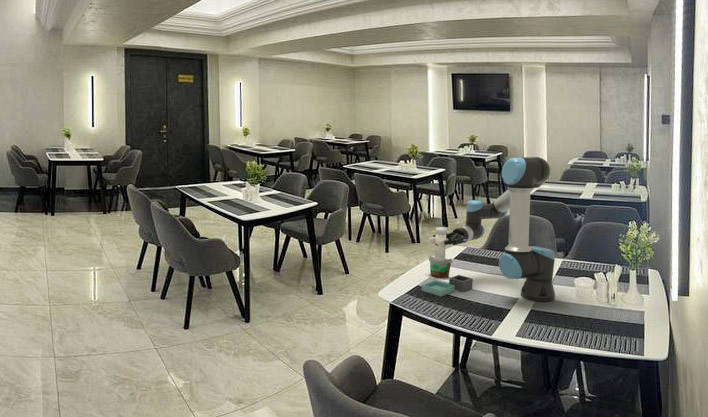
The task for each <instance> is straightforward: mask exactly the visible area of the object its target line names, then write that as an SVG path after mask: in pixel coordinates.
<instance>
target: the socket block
mask: <svg viewBox="0 0 708 417" xmlns="http://www.w3.org/2000/svg"><path fill="white" fill-rule="evenodd" d="M448 278H449V280H448V284H451V285H454V286H455V290H454V291H458V292H461V293H466V292H467V291H469V290H472V289H473V283H474V282H473V281H474V278H472V277H469V276H465V275H461V274H458V275H455V276H451V277H448Z"/></svg>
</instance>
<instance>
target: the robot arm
mask: <svg viewBox="0 0 708 417" xmlns="http://www.w3.org/2000/svg"><path fill="white" fill-rule="evenodd" d="M550 175H551V167H550V164H549V163H548V161H547V160H546V159H544V158H542V157H539V156H534V157H533V156H529V157H527V156H525V157H523V156H522V157H521V156H520V157H511V158H509V159H508V160H506V162H504V164H503V166H502V169H501V178H502V181H503V182H504V183H505V184H506V188H507V190H506V191H504V192H503V193H502V194H501V195H500V196H499V197H497V198H496V199H495V200H494V201H492V202H491V203H483V201H482V200H475V199H472V200H471V199H470V200H468V201H467V204H466V217H465V219H466V220H465V225H464V226H460V227H457V228H455V229H453V230H452V231H451V232H447V233H446V239H444V240H440V241H439V245H438V247H441V246H445V245H446V246H448V245H449V246H450V245H453V246H457V245H459V244H460V245H461V244H466V243H468V242H470V241H474V240H478V239H480V238H482V237H483V236H484V234H485V229H484V226H483V224H482V221H483V220H492V219H493V220H494V219H503V218H505V217H506V216H507V213H508V210H509V217H508V218H509V221H508V222H509V223H508V245H507V246H505V247H504V253H503V254H501V255H500V257H499V259H498V266H499V270H500V271H501V273H502V275H503V276H504V277H505V278H507V279H508V280H519V279H525V280H524V283H523V285H522V287H521V288H520V296H521V297H522V298H524V299H526V300H529V301H532V302H533V301H534V302H542V303H544V302H545V303H547V302H553V301H555V299H556V292H555V287H554V284H553V280H554V279H553V276H554V268H555V261H556V259H555V256H556V254H555V252H554V250H552V249H550V248H545V247H541V246H533V245H532V246H531V245H530V246H529V244H530V243H529V242H530V241H529V237H530V215H531V214H530V212H531V210H530V208H531V192H532V191H533V190H535V189H538V188H540V187H542V185H544V184H545V183H546V182H547V181H548V179H549V178H550ZM435 238H436V234H433V235H432V237H429V238H428V245H432V244H435Z"/></svg>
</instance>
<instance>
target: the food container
mask: <svg viewBox="0 0 708 417" xmlns="http://www.w3.org/2000/svg"><path fill="white" fill-rule="evenodd" d="M428 261H429V265H430V266H429V267H430V269H429V270H430V271H429V272H430V276H431V277H432V278H435V279H447V278H450V277H449V276H450V272H451V265H452V263H453V258H449V259H447V258H445V261H436V260H434V256H432V255H431V254H430V255H429V257H428Z"/></svg>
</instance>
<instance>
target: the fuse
mask: <svg viewBox="0 0 708 417" xmlns="http://www.w3.org/2000/svg"><path fill="white" fill-rule="evenodd" d="M447 230H448V228H447V227H444V226H436V227H435V235H436V238H435V243H434V256H433V257H434V260H436V261H445V259H446V246H447V245H445V246H441V247H438V245H439V241H440V240H444V239H446V234H447V233H448V232H447Z"/></svg>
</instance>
